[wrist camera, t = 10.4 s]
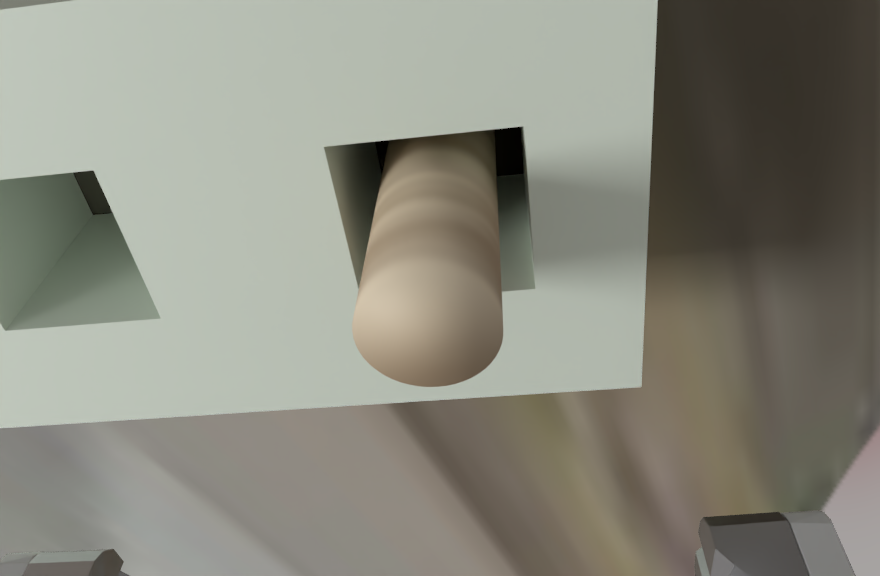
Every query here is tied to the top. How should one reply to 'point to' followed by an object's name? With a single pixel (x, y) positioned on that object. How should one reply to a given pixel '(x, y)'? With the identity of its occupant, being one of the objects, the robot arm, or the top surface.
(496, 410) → the top surface
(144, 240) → the hole block
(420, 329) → the peg
